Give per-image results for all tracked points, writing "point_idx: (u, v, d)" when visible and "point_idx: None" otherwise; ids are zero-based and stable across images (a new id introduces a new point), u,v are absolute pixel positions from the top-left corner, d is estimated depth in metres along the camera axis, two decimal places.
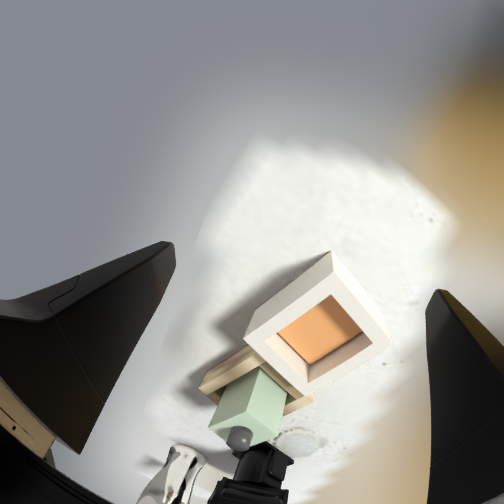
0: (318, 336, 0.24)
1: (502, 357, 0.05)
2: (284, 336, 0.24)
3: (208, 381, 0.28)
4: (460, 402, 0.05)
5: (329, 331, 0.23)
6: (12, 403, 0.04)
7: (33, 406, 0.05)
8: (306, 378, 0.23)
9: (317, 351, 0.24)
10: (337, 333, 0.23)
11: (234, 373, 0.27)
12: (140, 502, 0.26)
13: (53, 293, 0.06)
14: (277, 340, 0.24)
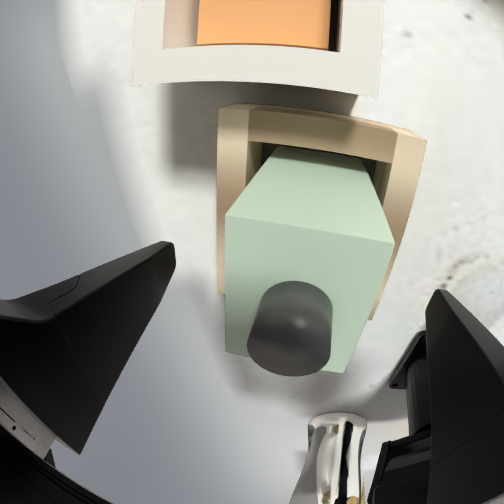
0: None
1: (502, 357, 0.05)
2: (224, 38, 0.09)
3: (218, 264, 0.14)
4: (460, 402, 0.05)
5: None
6: (12, 403, 0.04)
7: (33, 406, 0.05)
8: None
9: (308, 12, 0.08)
10: None
11: (230, 202, 0.12)
12: None
13: (53, 293, 0.06)
14: None
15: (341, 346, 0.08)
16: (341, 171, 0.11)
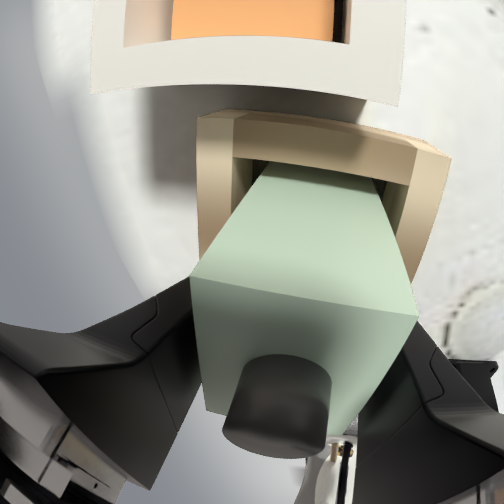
0: None
1: (426, 352, 0.05)
2: (203, 31, 0.07)
3: None
4: (379, 400, 0.06)
5: None
6: (90, 457, 0.04)
7: (115, 456, 0.04)
8: None
9: None
10: None
11: (213, 229, 0.10)
12: None
13: (131, 322, 0.06)
14: None
15: (340, 415, 0.06)
16: (347, 194, 0.09)
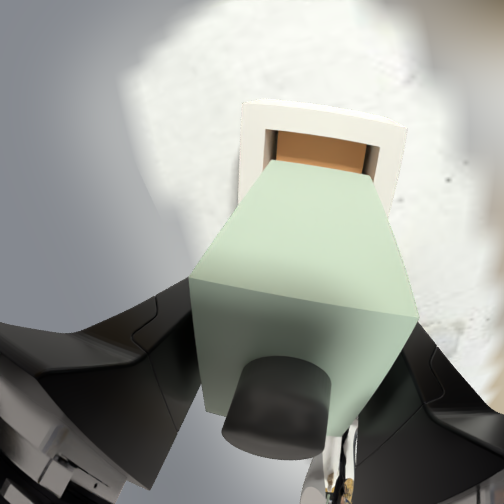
0: None
1: (426, 353, 0.05)
2: None
3: None
4: (379, 400, 0.06)
5: None
6: (90, 457, 0.04)
7: (115, 456, 0.04)
8: None
9: None
10: None
11: None
12: (301, 503, 0.25)
13: (131, 322, 0.06)
14: None
15: (339, 416, 0.06)
16: (347, 195, 0.09)
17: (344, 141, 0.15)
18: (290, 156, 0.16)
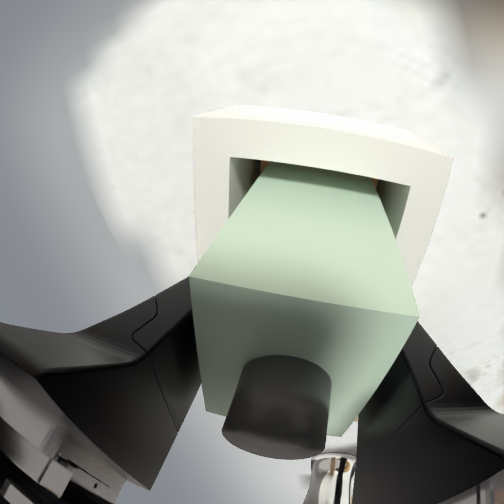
0: None
1: (426, 353, 0.05)
2: None
3: None
4: (379, 400, 0.06)
5: None
6: (90, 457, 0.04)
7: (115, 456, 0.04)
8: None
9: None
10: None
11: None
12: None
13: (131, 322, 0.06)
14: None
15: (340, 415, 0.06)
16: (347, 195, 0.09)
17: None
18: None
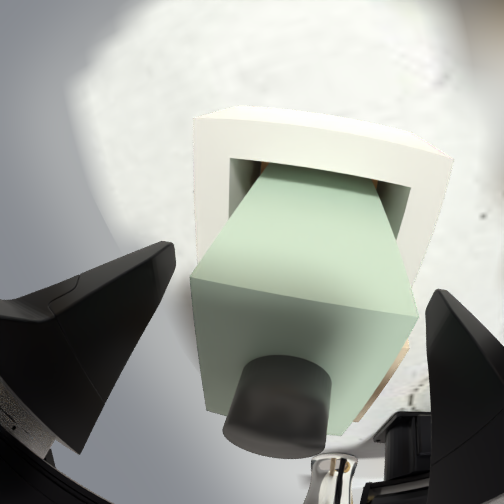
0: None
1: (502, 357, 0.05)
2: None
3: None
4: (460, 402, 0.05)
5: None
6: (12, 403, 0.04)
7: (33, 406, 0.05)
8: None
9: None
10: None
11: None
12: None
13: (53, 293, 0.06)
14: None
15: (340, 414, 0.06)
16: (347, 195, 0.09)
17: None
18: None
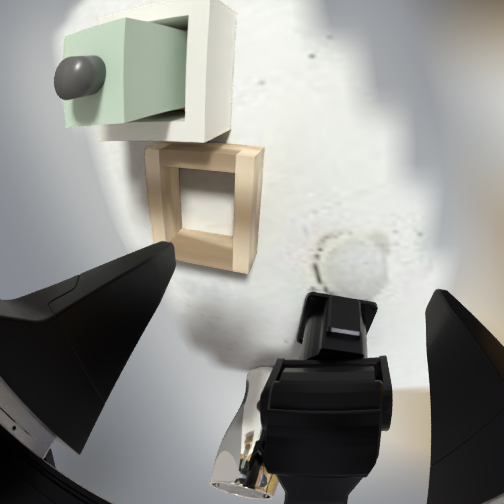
0: None
1: (502, 357, 0.05)
2: None
3: (153, 237, 0.23)
4: (460, 402, 0.05)
5: None
6: (12, 403, 0.04)
7: (33, 406, 0.05)
8: (184, 120, 0.16)
9: None
10: None
11: (154, 200, 0.21)
12: (214, 463, 0.24)
13: (53, 293, 0.06)
14: None
15: (115, 94, 0.11)
16: None
17: (187, 31, 0.15)
18: None
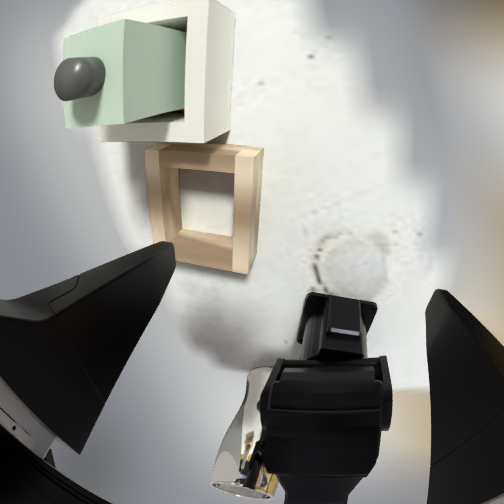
0: None
1: (502, 357, 0.05)
2: None
3: (153, 238, 0.23)
4: (460, 402, 0.05)
5: None
6: (12, 403, 0.04)
7: (33, 406, 0.05)
8: (183, 121, 0.16)
9: None
10: None
11: (154, 200, 0.21)
12: (214, 464, 0.24)
13: (53, 293, 0.06)
14: None
15: (115, 95, 0.11)
16: None
17: (186, 32, 0.15)
18: None
